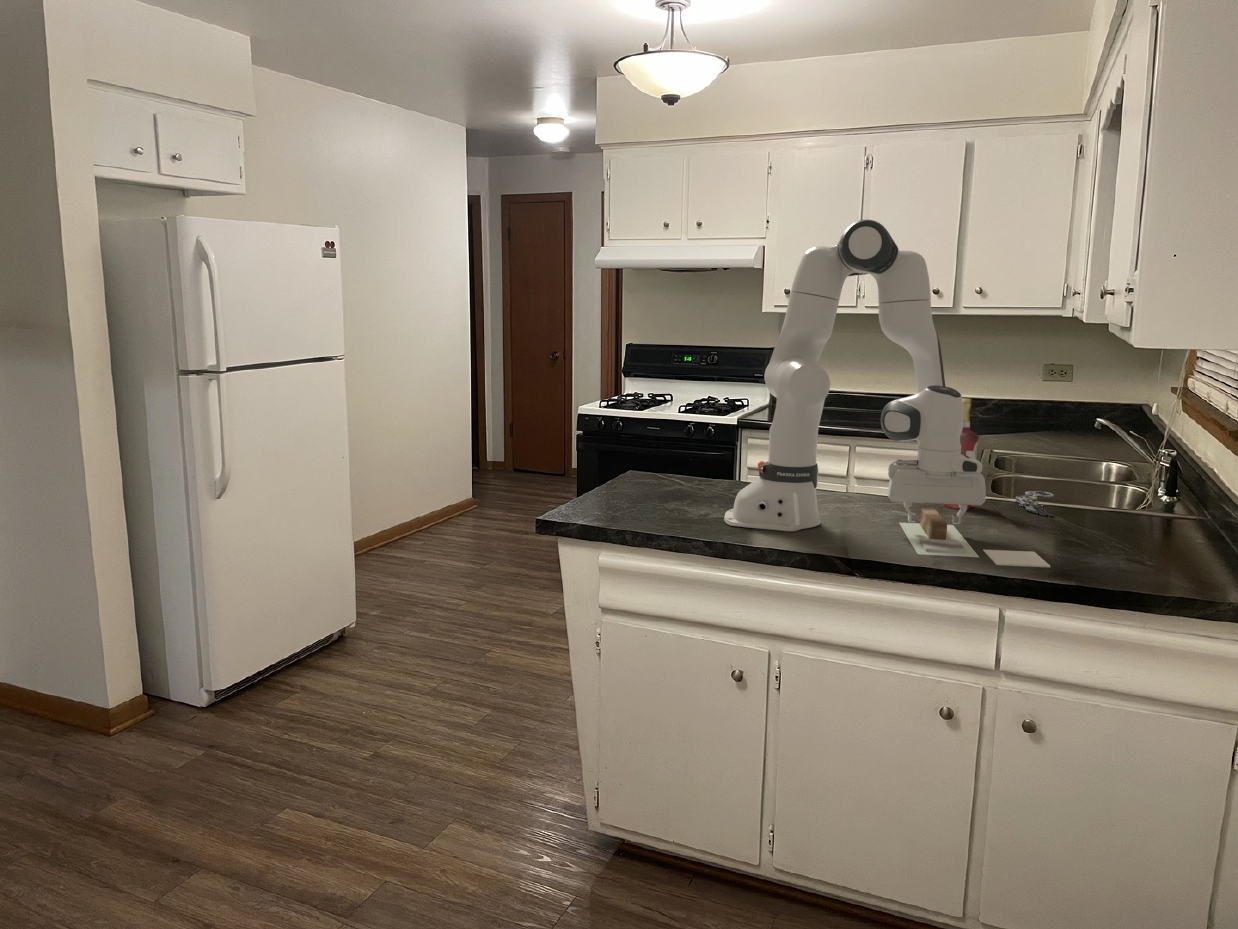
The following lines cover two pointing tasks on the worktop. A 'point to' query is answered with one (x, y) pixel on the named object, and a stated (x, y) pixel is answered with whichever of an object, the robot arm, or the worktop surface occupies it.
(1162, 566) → the worktop surface
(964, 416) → the liquor
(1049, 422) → the worktop surface
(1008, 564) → the tile
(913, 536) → the plate
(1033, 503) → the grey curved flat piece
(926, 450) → the robot arm
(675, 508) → the worktop surface
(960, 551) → the turner
